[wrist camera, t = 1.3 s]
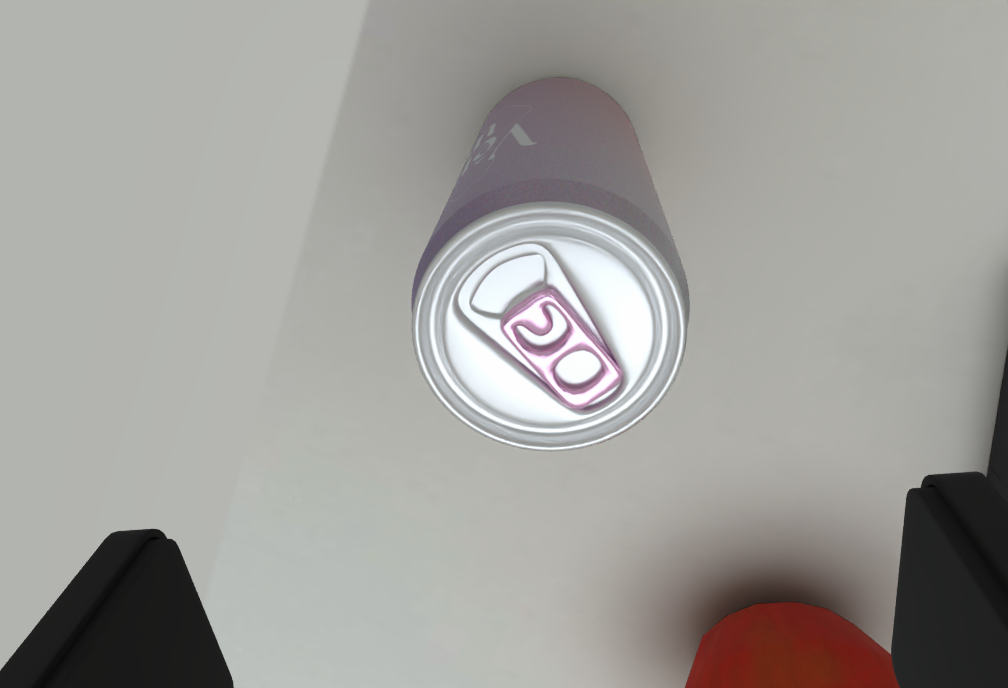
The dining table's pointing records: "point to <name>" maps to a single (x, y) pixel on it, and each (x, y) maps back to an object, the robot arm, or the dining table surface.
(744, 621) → the apple
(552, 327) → the beverage can
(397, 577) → the dining table surface
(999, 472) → the socket pad
